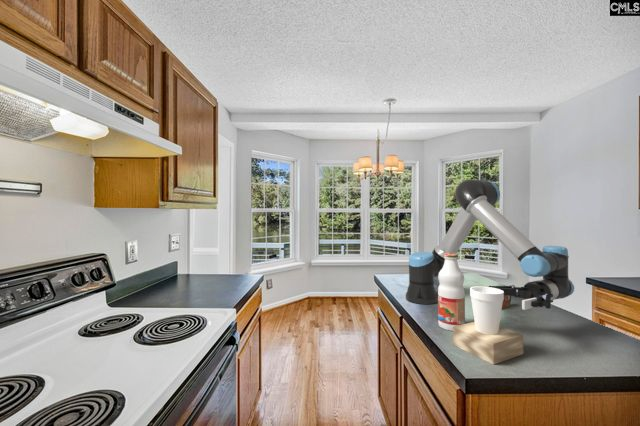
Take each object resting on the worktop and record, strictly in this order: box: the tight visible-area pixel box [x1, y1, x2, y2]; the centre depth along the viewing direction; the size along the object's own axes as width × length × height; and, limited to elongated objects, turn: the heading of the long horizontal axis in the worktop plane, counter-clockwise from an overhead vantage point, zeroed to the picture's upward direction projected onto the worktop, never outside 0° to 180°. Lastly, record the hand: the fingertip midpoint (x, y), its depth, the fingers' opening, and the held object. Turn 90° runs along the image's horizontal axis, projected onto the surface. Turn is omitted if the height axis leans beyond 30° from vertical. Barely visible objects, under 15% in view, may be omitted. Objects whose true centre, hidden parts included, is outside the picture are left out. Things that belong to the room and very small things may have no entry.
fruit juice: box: [437, 253, 466, 332], centre depth 112 cm, size 9×9×28 cm
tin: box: [502, 295, 512, 310], centre depth 134 cm, size 15×3×8 cm, turn 117°
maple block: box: [452, 321, 524, 365], centre depth 94 cm, size 14×14×6 cm
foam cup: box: [469, 285, 504, 335], centre depth 94 cm, size 10×9×13 cm
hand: (501, 299), depth 97 cm, fingers open, 13 cm apart
